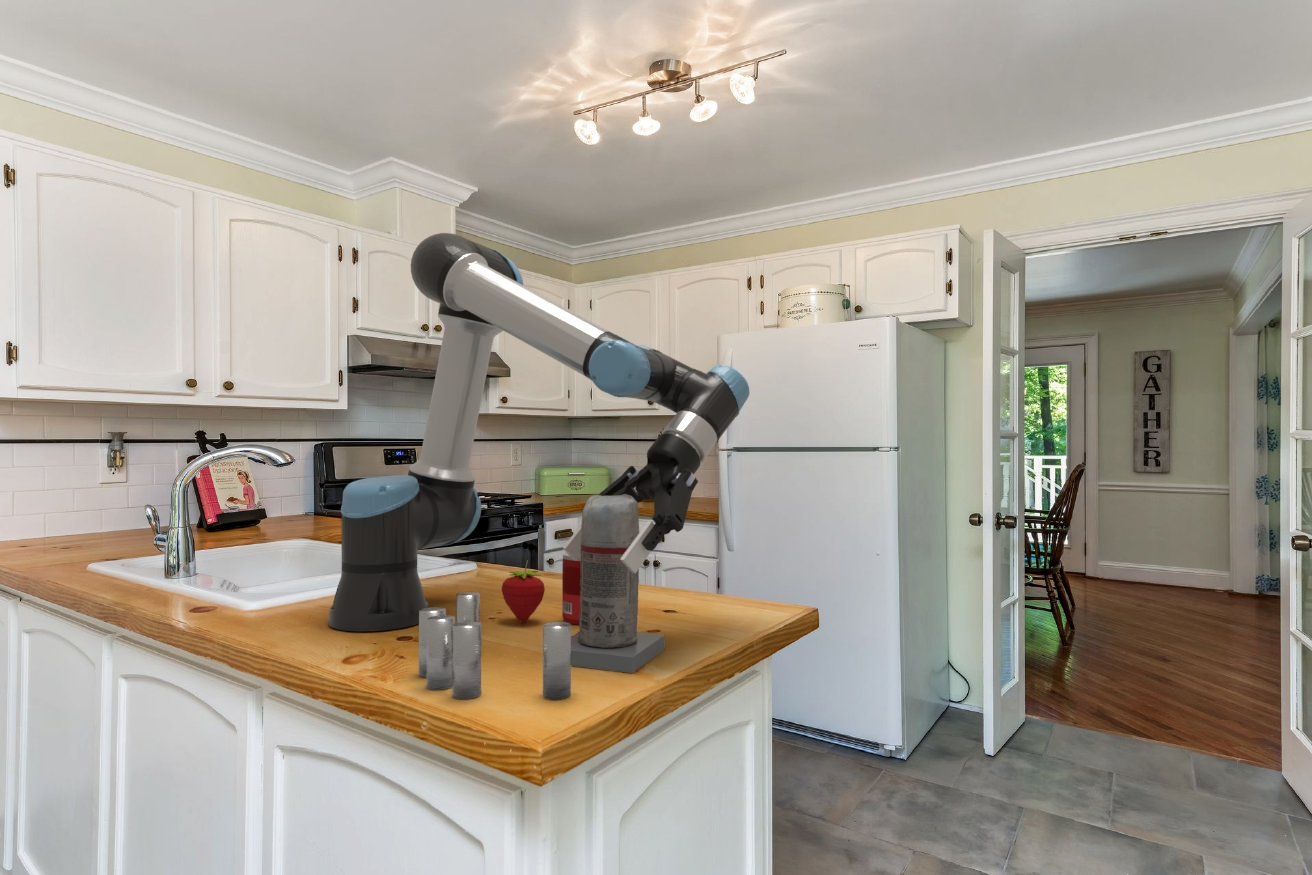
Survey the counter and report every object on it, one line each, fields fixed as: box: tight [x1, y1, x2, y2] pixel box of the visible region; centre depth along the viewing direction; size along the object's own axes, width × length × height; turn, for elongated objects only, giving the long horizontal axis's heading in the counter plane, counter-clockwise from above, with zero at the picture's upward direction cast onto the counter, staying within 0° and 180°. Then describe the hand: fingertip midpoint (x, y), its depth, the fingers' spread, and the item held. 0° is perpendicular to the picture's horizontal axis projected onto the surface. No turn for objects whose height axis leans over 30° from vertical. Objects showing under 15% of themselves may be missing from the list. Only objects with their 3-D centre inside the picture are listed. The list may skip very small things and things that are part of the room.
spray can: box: [578, 494, 640, 649], centre depth 102 cm, size 8×8×20 cm
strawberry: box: [501, 560, 546, 623], centre depth 121 cm, size 6×8×10 cm
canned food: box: [561, 551, 581, 626], centre depth 123 cm, size 8×8×11 cm
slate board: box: [571, 631, 666, 674], centre depth 102 cm, size 12×12×2 cm
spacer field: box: [418, 591, 572, 701], centre depth 93 cm, size 23×18×8 cm
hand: (596, 560), depth 101 cm, fingers open, 13 cm apart
